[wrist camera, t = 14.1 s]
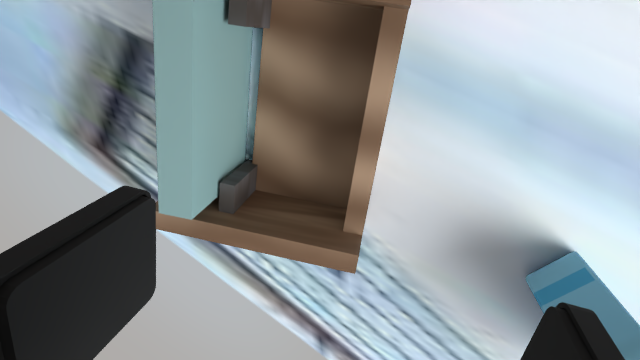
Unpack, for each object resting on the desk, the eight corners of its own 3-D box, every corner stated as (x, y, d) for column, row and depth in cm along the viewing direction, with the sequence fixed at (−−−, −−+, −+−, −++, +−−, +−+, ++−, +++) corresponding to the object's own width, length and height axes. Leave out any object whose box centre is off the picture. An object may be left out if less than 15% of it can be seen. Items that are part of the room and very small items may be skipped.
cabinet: (202, -37, 30) (139, -62, 23) (410, -9, 28) (416, -25, 21) (196, 188, 37) (146, 226, 29) (363, 223, 35) (355, 273, 28)
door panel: (213, 0, 31) (135, -16, 22) (254, 5, 30) (192, -9, 21) (209, 165, 36) (145, 210, 27) (244, 172, 36) (191, 219, 26)
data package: (519, 269, 34) (580, 382, 23) (569, 243, 32) (661, 350, 21) (594, 363, 36) (684, 510, 25) (645, 342, 34) (766, 489, 23)
